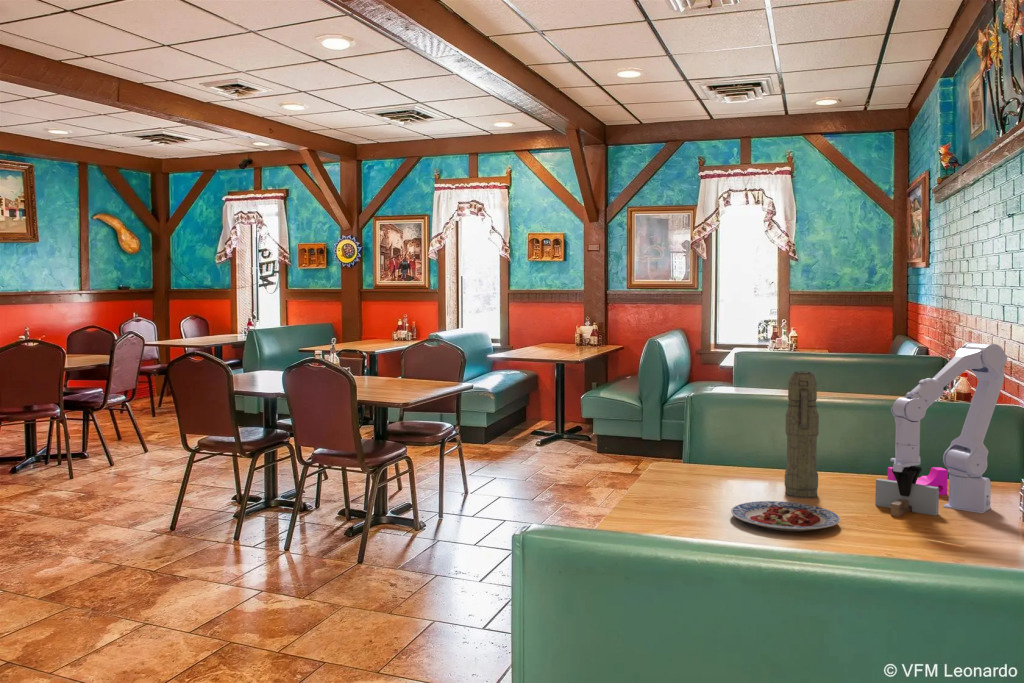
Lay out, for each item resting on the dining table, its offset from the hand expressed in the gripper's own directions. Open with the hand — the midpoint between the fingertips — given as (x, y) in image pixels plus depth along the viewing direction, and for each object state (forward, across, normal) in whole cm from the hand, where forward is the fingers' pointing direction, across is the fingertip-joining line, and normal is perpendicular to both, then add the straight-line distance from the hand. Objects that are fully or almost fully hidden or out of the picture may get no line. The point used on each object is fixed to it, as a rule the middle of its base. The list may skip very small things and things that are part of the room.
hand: (906, 495), depth 210 cm
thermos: (+4, +4, -27) cm, 27 cm away
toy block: (+4, -21, -5) cm, 22 cm away
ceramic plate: (+4, +32, -18) cm, 37 cm away
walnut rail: (+4, 0, 0) cm, 4 cm away
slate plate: (+4, 0, 0) cm, 4 cm away
